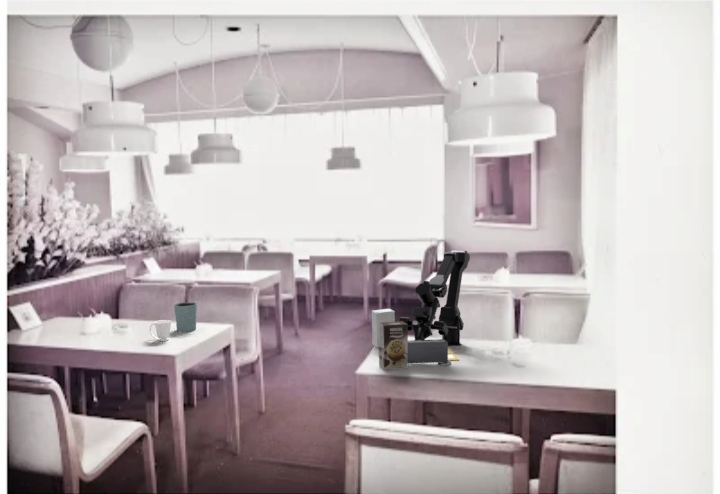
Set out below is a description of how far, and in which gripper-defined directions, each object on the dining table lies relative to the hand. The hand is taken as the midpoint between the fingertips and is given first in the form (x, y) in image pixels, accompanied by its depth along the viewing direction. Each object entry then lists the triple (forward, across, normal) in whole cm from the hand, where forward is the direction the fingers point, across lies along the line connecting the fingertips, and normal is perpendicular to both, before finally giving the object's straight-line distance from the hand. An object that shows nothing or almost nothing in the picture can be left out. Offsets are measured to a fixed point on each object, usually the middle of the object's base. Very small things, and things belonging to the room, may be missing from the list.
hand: (416, 345), depth 233 cm
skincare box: (-6, -23, +16) cm, 28 cm away
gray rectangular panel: (+5, +5, +3) cm, 7 cm away
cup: (+20, -111, -12) cm, 114 cm away
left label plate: (-4, +8, +13) cm, 16 cm away
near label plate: (-9, +2, +18) cm, 20 cm away
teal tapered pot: (+7, -116, +3) cm, 117 cm away
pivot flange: (+2, +10, +7) cm, 12 cm away
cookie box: (+11, -5, -2) cm, 12 cm away
